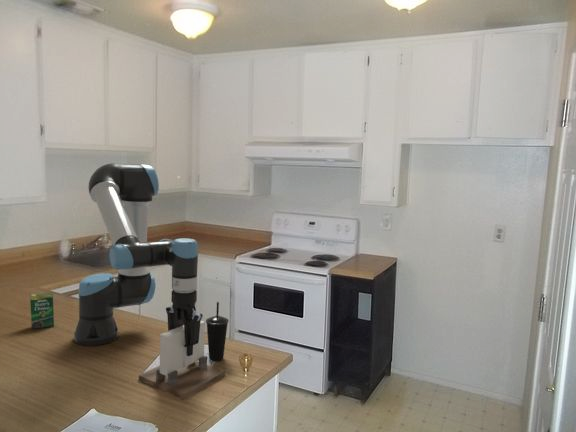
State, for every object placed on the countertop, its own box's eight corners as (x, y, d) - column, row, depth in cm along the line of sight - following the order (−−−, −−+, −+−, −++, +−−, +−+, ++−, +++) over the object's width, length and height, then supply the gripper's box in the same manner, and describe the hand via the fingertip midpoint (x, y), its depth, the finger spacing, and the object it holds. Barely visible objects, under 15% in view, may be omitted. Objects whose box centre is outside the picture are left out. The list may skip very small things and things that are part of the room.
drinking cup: (202, 354, 159) (204, 299, 157) (224, 352, 162) (226, 298, 160) (207, 364, 152) (208, 306, 150) (229, 361, 155) (231, 305, 153)
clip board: (138, 379, 140) (138, 364, 139) (181, 359, 155) (181, 345, 154) (183, 399, 130) (184, 382, 129) (224, 375, 145) (225, 360, 144)
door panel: (159, 373, 136) (160, 334, 134) (197, 355, 149) (197, 319, 148) (166, 375, 134) (167, 336, 133) (204, 357, 148) (204, 321, 146)
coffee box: (30, 329, 174) (29, 296, 173) (30, 326, 177) (30, 293, 175) (54, 326, 178) (53, 294, 176) (54, 324, 180) (53, 292, 179)
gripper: (156, 287, 140) (155, 360, 143) (195, 297, 132) (193, 375, 134) (174, 282, 146) (173, 352, 149) (212, 292, 138) (210, 366, 141)
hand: (182, 363), depth 142 cm, fingers closed on door panel, 3 cm apart
